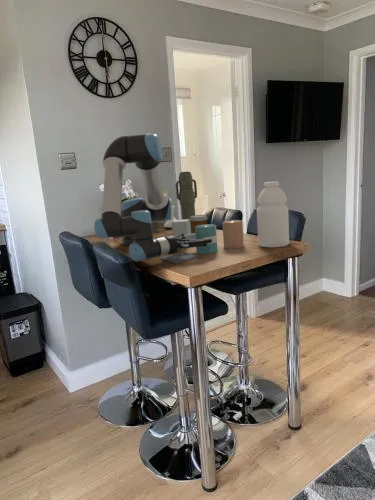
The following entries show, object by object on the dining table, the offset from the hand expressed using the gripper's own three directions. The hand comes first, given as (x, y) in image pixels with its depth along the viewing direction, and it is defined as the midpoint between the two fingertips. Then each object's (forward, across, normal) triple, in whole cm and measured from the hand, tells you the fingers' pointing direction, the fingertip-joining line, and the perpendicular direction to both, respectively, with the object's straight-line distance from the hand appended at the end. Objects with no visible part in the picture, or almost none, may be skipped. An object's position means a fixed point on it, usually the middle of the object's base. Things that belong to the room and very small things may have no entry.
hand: (206, 237), depth 171 cm
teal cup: (0, 0, -6) cm, 6 cm away
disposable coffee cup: (+18, -29, -7) cm, 35 cm away
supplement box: (+1, -20, -7) cm, 21 cm away
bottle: (+27, +14, -7) cm, 31 cm away
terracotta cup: (+14, +2, -6) cm, 16 cm away
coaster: (-15, 0, -6) cm, 16 cm away
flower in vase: (+32, -77, -7) cm, 84 cm away
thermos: (+24, -47, -7) cm, 53 cm away
